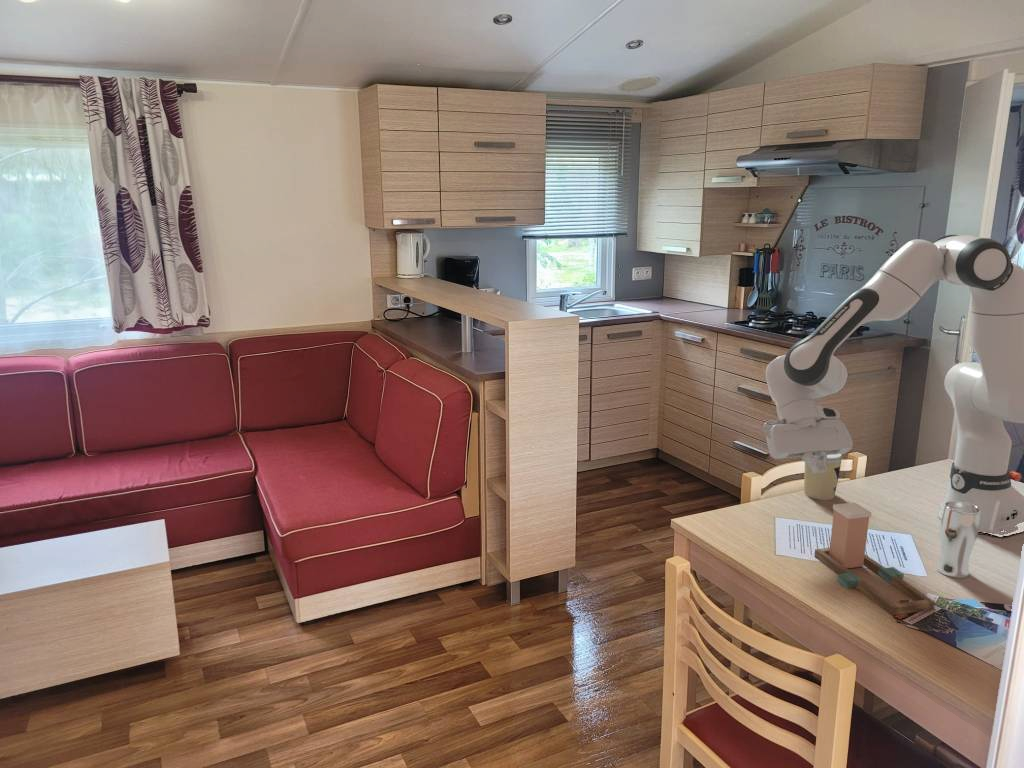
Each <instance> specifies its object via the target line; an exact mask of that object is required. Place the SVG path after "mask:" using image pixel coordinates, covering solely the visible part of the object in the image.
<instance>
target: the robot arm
mask: <svg viewBox="0 0 1024 768" xmlns="http://www.w3.org/2000/svg"><path fill="white" fill-rule="evenodd" d="M939 281H944V282H947V283H950V284H953V285H957V286H968V287H969V289H970V290H969V291H970V293H971V302H970V311H969V312H970V314H969V315H970V316H969V317H970V318H969V330H968V331H969V332H968V343H969V345H970V348H971V350H973V352H974V353H975V355H976V357H977V360H978V362H974V361H972V362H971V361H964V362H959V363H957V364H954V365H953V366H952V367H951V368H950V369H949V370H948V372H947V373H946V375H945V377H944V383H943V384H944V389H945V391H946V393H947V394H948V396H949V398H950V400H951V403H952V406H953V409H954V410H953V411H954V414H955V420H956V427H957V438H956V446H955V447H956V448H955V455H954V462H952V463H951V467H950V473H949V478H950V479H949V481H948V485H947V489H946V492H945V495H944V499H943V502H941V503H940V506H939V508H940V507H941V508H940V510H939V512H938V518H939V519H940V520H941V518H942V514H943V510H944V506H945V503H946V502H948V501H961V502H966V503H970V504H973V505H975V506H977V507H979V508H980V510H981V511H980V524H979V531H978V532H986V533H992V534H999V535H1004V534H1008V533H1011V532H1014V531H1016V530H1018V527H1017V526H1016V525H1017V524H1019V523H1022V522H1024V495H1023V494H1022V493H1021V492H1020V491H1019V490H1017V489H1016V488H1015V487H1014V486H1013V485H1012V482H1011V480H1013V481H1015V482H1020V480H1021V479H1022V478H1023V477H1022V474H1021V473H1020V472H1016V471H1013V470H1012V471H1009V470H1008V468H1009V463H1010V457H1011V452H1012V451H1011V450H1012V445H1013V441H1012V438H1011V437H1010V435H1009V433H1008V431H1007V429H1006V428H1005V425H1004V422H1008V423H1009V422H1010V423H1016V424H1024V268H1023V266H1022V267H1021V266H1020V265H1018V264H1016V263H1013V262H1012V258H1011V255H1010V252H1009V251H1008V250H1007V248H1006V247H1005V246H1004V245H1003V244H1002V243H1001V242H999V241H997V240H995V239H993V238H988V237H987V238H986V237H982V236H976V235H972V234H971V235H970V234H966V235H964V234H963V235H958V234H949V235H944V236H941V237H939V238H936V239H934V240H933V241H928V240H925V239H923V238H920V239H919V238H917V239H912V240H909V241H907V242H906V243H905V244H903V245H902V246H901V247H900V248H899V249H897V250H896V251H895V252H894V253H893V254H892V255H891V256H890V257H888V259H887V260H886V261H885V262H884V263H883V264H882V265H881V266H880V268H879V269H877V271H876V272H875V273H874V275H872V277H871V278H869V280H868V281H867V282H866V283H865V284H864V285H863V286H862V287H861V288H859V289H857V290H856V291H855V292H853V293H852V294H851V295H850V296H848V297H847V298H846V299H845V300H844V301H843V302H841V304H839V305H838V307H836V308H835V310H834V311H832V313H830V315H828V316H827V318H825V320H824V321H823V322H822V323H820V325H819V326H817V327H816V329H814V330H813V332H811V333H810V334H809V335H807V336H806V337H805V338H803V339H801V340H799V341H797V342H796V343H795V344H793V345H792V346H791V347H790V348H788V351H787V352H786V354H783V355H780V356H778V357H776V358H774V359H772V360H771V361H770V362H769V363H768V364H767V366H766V369H765V374H764V375H765V381H766V385H767V388H768V392H769V395H770V397H771V399H772V401H773V402H774V404H775V406H776V413H777V417H778V419H776V420H767V421H766V422H765V423H764V424H763V426H762V430H763V433H764V435H765V438H766V444H767V448H768V451H769V454H770V455H769V456H771V457H772V459H775V460H777V459H778V460H779V459H791V458H802V460H803V462H804V464H805V463H806V464H807V465H809V466H810V467H811V469H812V472H813V473H822V472H826V471H827V470H828V468H827V466H826V459H827V455H832V454H842V455H843V454H846V453H848V452H849V451H851V450H852V448H853V445H854V442H853V439H852V436H851V433H850V432H849V430H848V429H847V426H846V424H845V423H844V422H843V421H842V420H840V419H839V418H840V416H841V413H840V412H839V411H838V410H837V409H834V408H829V407H827V406H822V405H820V404H816V402H815V400H819V399H823V398H826V397H829V396H834V395H836V394H837V393H839V392H840V391H842V390H843V389H844V388H845V387H846V384H847V382H848V379H849V371H848V368H847V365H846V364H845V363H843V362H842V361H841V360H840V359H839V358H838V357H836V356H835V355H834V353H835V351H836V350H837V349H838V348H839V347H840V346H841V345H842V344H843V343H845V341H846V340H847V339H848V338H849V337H850V336H851V335H852V334H853V333H854V332H855V331H856V330H857V329H859V327H861V326H862V325H864V324H866V323H868V322H874V321H884V322H887V321H888V322H889V321H895V320H898V319H900V318H902V317H903V316H905V315H906V314H907V313H908V312H909V311H910V310H912V308H913V307H914V306H915V305H916V304H917V303H918V302H919V300H921V298H922V297H923V296H924V294H925V293H926V292H927V291H928V290H929V288H930V287H932V285H934V284H935V283H937V282H939ZM1003 421H1004V422H1003ZM813 456H816V457H817V459H820V461H819V463H816V462H815V461H814V460H813V459H812V457H813ZM1015 526H1016V527H1015ZM1003 530H1004V532H1001V531H1003ZM1005 531H1006V532H1005Z"/></svg>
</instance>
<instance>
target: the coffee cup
mask: <svg viewBox="0 0 1024 768" xmlns="http://www.w3.org/2000/svg"><path fill="white" fill-rule="evenodd" d="M842 455H843V454H832V455H827V459H826V466H827V468H828V470H827V471H826V472H822V473H813V472H812V469H811V467H810V466H809V465H807V464H806V463H805V462H804V474H803V475H804V477H803V478H804V479H803V480H804V481H803V486H804V487H803V490H804V491H803V493H804V495H805V496H807V497H809V498H811V499H816V500H823V501H825V500H826V501H828V500H829V501H830V500H833V499H834V498H835V495H836V491H837V486H838V481H839V476H840V472H841V466H842V460H843V456H842ZM812 459H813V460H814V461H815V462H816V463H819V461H820V459H817V457H816V456H813V457H812Z"/></svg>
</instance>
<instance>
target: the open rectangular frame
mask: <svg viewBox="0 0 1024 768" xmlns="http://www.w3.org/2000/svg"><path fill="white" fill-rule="evenodd" d="M829 550H830V547H823V548H817V549H815V548H814V554H813V555H815V556H816V557H817V558H816V557H815V556H814V557H815V558H816V559H817V560H819V559H820V560H821V561H820V560H819V561H820V562H822V563H823V564H824V565H826V566H827V567H828V568H829V569H831V570H832V571H833V572H835V573H836V574H837V582H838V583H839V584H841V586H843V587H845V589H850V588H856V589H857V590H859V592H861V593H863V594H864V595H865V596H866V597H868V598H869V599H870V600H872V601H873V602H874V603H875V604H877V605H878V606H880V607H881V608H882V609H884V611H886V612H887V613H889V614H890V615H892V616H897V615H905V614H912V613H919V611H920V612H926V611H925V610H927V611H932V610H935V605H936V602H935V601H934V600H933V599H931V598H930V597H928V595H925V594H924V593H922V592H921V591H920V590H918V589H917V588H915V587H914V586H912V585H911V584H910V583H908V582H906V581H905V580H904V579H903V578H904V573H903V572H902V571H900V570H898V569H897V568H896V567H893V566H891V567H885V566H883V565H882V564H880V563H879V562H877V561H875V560H874V559H873V558H872V557H870V556H869V555H867V554H866V553H865V555H864V563H863V566H865V567H867V568H868V569H870V570H871V571H873V572H874V573H875V574H876V575H878V576H880V577H881V578H882V579H883V580H884V581H887V582H888V583H890V584H891V585H892V586H893V587H896V588H897V589H898V590H900V592H902V593H903V594H905V595H906V596H908V597H909V598H911V599H912V600H913V601H907V602H900V603H894V602H893V601H891V600H890V599H888V598H887V597H886V596H884V595H883V594H882V593H880V592H879V591H878V590H877V589H875V588H873V587H872V586H871V585H869V584H868V583H867V582H865V581H864V580H863V579H862V578H860V577H858V575H856V574H855V573H853V572H852V571H850V570H849V568H845V567H844V566H842V565H841V564H840V563H838V562H837V561H836V560H834V559H833V558H831V557H830V556H829Z"/></svg>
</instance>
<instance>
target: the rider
mask: <svg viewBox="0 0 1024 768" xmlns="http://www.w3.org/2000/svg"><path fill="white" fill-rule="evenodd" d="M832 510H833V516H832V524H831V526H832V527H831V533H830V544H829V548H830V550H829V556H830V557H831V558H833V559H834V560H836V561H837V562H838V563H840V564H841V565H842V566H844V567H845V568H846V569H852V568H861V567H864V564H863V563H864V555H865V554H866V545H867V538H868V532H869V531H868V529H869V522H870V517H871V518H872V511H870V510H868V509H867V508H865V507H863V506H862V505H859V504H858V503H857V502H847V503H845V502H844V503H837V504H833V505H832Z"/></svg>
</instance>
